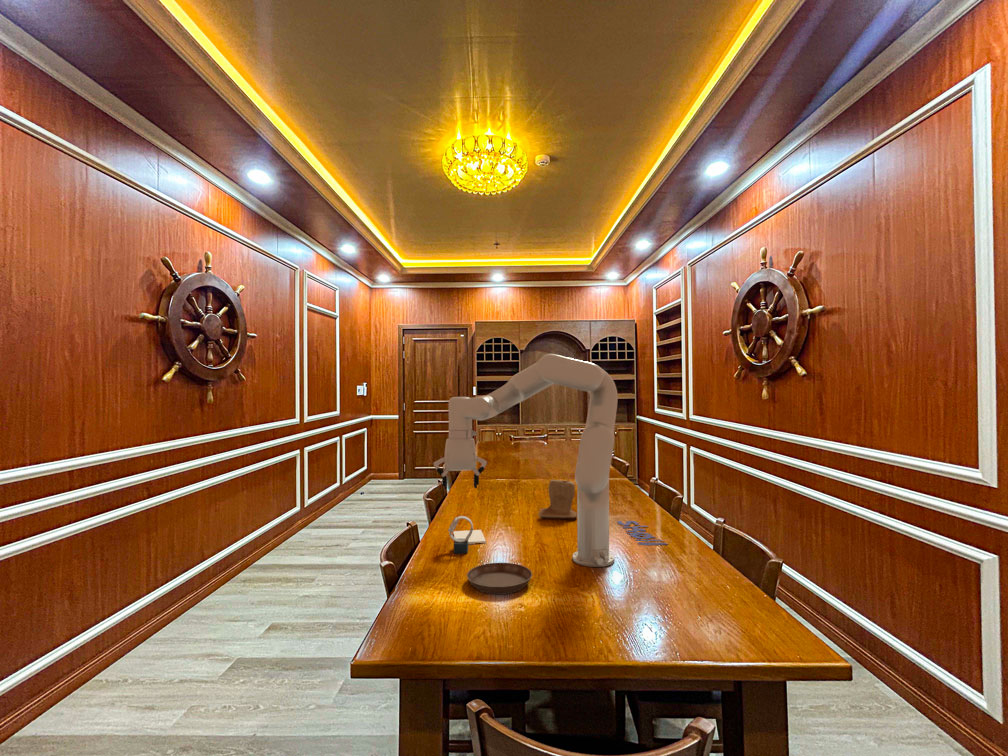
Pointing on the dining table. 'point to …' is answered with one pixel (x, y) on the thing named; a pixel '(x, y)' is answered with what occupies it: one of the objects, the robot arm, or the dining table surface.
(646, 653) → the dining table surface
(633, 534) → the signage
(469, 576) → the plant saucer
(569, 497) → the brown boot
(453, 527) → the watch
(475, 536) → the pad
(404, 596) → the dining table surface
